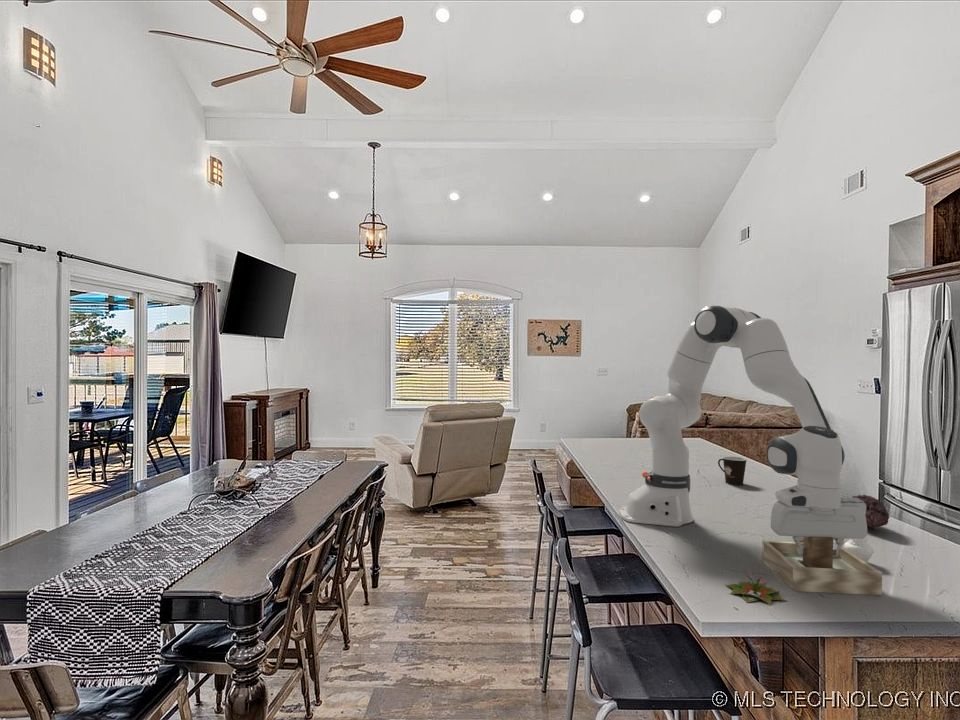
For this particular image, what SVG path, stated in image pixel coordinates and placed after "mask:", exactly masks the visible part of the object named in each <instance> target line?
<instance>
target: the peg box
mask: <svg viewBox="0 0 960 720" xmlns="http://www.w3.org/2000/svg"><path fill="white" fill-rule="evenodd" d="M761 543H762V544H761V548H762V549H761V561H762V562H763V563H764V564H765V565H766V566H767V567H769V569H771V570H772V572H773V573H775V574H776V575H777V576H778V577H779V578H780V579H781V580H782V581H784V583H785V584H787V585H788V586H789V587H790V588H791V589H792V590H793V591H794V592H805V593H807V592H809V593H811V592H812V593H828V594H829V593H830V594H846V595H847V594H848V595H866V596H867V595H868V596H869V595H870V596H883V572H882V571H880V570H879V569H878V568H876V567H874V566H872V565H871V564H869V563H868V562H865V561H864V560H862V559H860V558H859V557H857V556H856V555H854V554H853V553H851V552H850V551H848V550H846V549H845V548H844V546H843V545H842V546H841V548H840V549H839V554H838V557H834V556H833V569H831V568H810V567H805V566H803V555H799V554H798V552H797V545H796V543H795V542H794V541H779V540H776V541H775V540H762V541H761ZM801 544H802V546H803V542H801Z"/></svg>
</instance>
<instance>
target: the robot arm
mask: <svg viewBox="0 0 960 720" xmlns="http://www.w3.org/2000/svg"><path fill="white" fill-rule="evenodd" d="M722 346H724V347H728V348H729V347H730V348H737V349H738V348H739V350H740V352H741V355H742V356H741V357H742V360H743V364H744V369H745V373H746V375H747V378H748V381H749V382H750V383H751V384H752V385H753V386H754V387H755V388H757V389H759V390H760V391H763V392H765V393H768V394H770V395H774V396H776V397H778V398H781V399H783V400H784V401H786V402H788V403H789V404H790V405H791V407H792V408H793V409H794V410H795V413H796V414H797V417H798V420H799V421H800V425H801V426H802V428H800V430H799V431H796V432H794V433H791V434H786V435H780V436H776V437H773V438H772V439H771V440H770V441H769V443H768V444H767V446H766V450H765V451H766V452H765V453H766V454H765V455H766V460H767V464H768V466H769V467H770V468H771V470H773V471H774V472H775V473H777V474H782V475H786V476H787V475H788V476H792V475H793V476H794V475H795V476H796V477H797V484H796V485H793V486H790V487H786V488H782V489H779V490H776V491H775V493H774V494H775V495H774V496H775V499H776V500H777V501H775V502H774V504H773V505H772V508H771V512H770V513H771V516H770V529H771V530H772V532H774V533H775V534H776V535H777V536H780V537H792V539H793V542H795V543H796V545H797V552H798V554H799V555H807V548H806V547H805V546H802V544H801V542H800V541H803V537H812V536H813V537H832V538H833V556H834V557H838V554H839V549H840V548H841V546H842V547H843V546H844V544H845V539H849V540H850V539H864V538H866V537H867V536H868V527H867V522H866V517H865V514H866V504H865V503H864V502H863V501H862V500H860V499H859V498H852V497H845V496H844V497H842V481H841V478H840V477H841V476H840V475H841V471H842V469H843V465H844V461H845V450H844V448H843V446H842V443H841V439H840V436H839V434H838V433H837V432H836V431H834V430H833V429H832V428H831V426H830V424H829V422H828V419H827V417H826V415H825V413H824V410H823V408H822V407H821V404H820V402H819V399H818V398H817V395H816V393H815V391H814V389H813V387H812V385H811V383H810V382H809V381H808V379H807V378H805V377H804V376H803V375H802V374H801V372H800V371H799V370H798V369H797V368H796V367H797V366H795V364H794V362H793V360H792V358H791V355H790V351H789V349H788V346H787V342H786V339H785V338H784V335H783V333H782V331H781V329H780V328H779V326H778V324H777V322H775V321H774V320H773V319H771V318H766V317H761V316H760V315H758V314H756V313H754V312H753V311H752V312H751V311H748V310H745V309H741V308H737V307H728V306H727V307H726V306H721V305H710V306H705V307H703V308H702V309H701V310H699V311H698V313H697V315H696V316H695V318H694V321H692V322H691V323H689V325H688V326H687V328H686V330H685V331H684V333H683V335H682V336H681V337H680V341H679V342H678V344H677V347H676V348H675V351H674V354H673V357H672V359H671V362H670V365H669V366H668V369H667V373H666V374H667V377H668V389H667V392H666V394H665V395H664V394H663V395H656V396H653V397H651V398H649V399H647V400H645V401H644V402H643V403H642V404H641V405H640V408H639V411H638V412H639V413H638V414H639V415H638V416H639V420H640V422H641V424H642V425H643V426H644V427H645V429H646V431H647V434H648V436H649V440H650V441H649V442H650V446H651V471H649V472H648V471H647V470H644V471H642V472H641V476H642V478H644V482H645V483H644V484H642V485H640V486H639V487H638V488H636V489H634V490H633V491H631V492H630V494H628V497H627V500H626V506H623V507H620V509H619V511H618V515H619V516H620V518H621V519H622V520H624V521H626V522H629V523H634V524H647V525H654V526H657V525H658V526H667V527H675V528H676V527H677V528H678V527H682V526H683V525H686V524H690V523H692V522H694V516H693V511H692V508H691V507H692V506H691V499H690V492H691V475H690V474H689V469H690V468H689V467H690V466H689V465H690V463H689V461H690V451H689V448H688V447H687V445H686V444H685V442H684V439H683V434H682V429H684V428H689V427H691V426H692V425H694V424H695V423H697V422H698V421H699V420H700V418H701V415H702V406H701V396H702V391H703V386H704V383H705V381H706V378H707V376H708V373H709V371H710V368H711V366H712V364H713V361H714V359H715V357H716V354H717V352H718V351H719V349H720V348H722ZM859 502H862V503H859Z"/></svg>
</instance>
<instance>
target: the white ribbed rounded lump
mask: <svg viewBox="0 0 960 720" xmlns="http://www.w3.org/2000/svg"><path fill="white" fill-rule="evenodd" d="M843 548H845V549H846V550H848V551H850V552H851V553H853V554H854V555H856V556H857V557H859V558H860V559H862V560H864V561H865V562H867V563H868V562H869V560H870V559H871V558H872V556H873V554H874V551H875V550H874V548H873V547H872V545H870V543H869V542H868V538H866V537H865V538H864V539H849V540H848V541H847V542H844V544H843Z"/></svg>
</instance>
